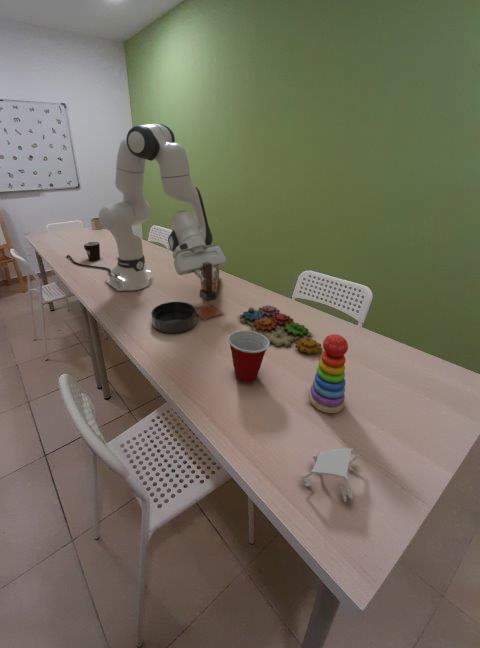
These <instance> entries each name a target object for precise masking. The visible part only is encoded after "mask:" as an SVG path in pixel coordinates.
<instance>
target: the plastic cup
mask: <svg viewBox="0 0 480 648" xmlns="http://www.w3.org/2000/svg"><path fill="white" fill-rule="evenodd" d="M227 342H228V344H229V347H230V351H231V358H232V366H233V369H234V375H235V378H236V380H237V381H239V382H242V383H244V384H249V383H253V382H256V380H257V378H258V375H259V371H260V369H261V366H262V363H263V359H264V356H265V355H266V352H267V350H268V349H269V347H270V344H271V343H270V342H269V340H268V339H267V337H265V336H264V335H262V334H260V333H259V332H254V331H252V330H248V329H244V330H236V331H233V332H231V333H230V334H228V336H227Z"/></svg>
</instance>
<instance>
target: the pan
mask: <svg viewBox="0 0 480 648" xmlns="http://www.w3.org/2000/svg"><path fill="white" fill-rule="evenodd" d="M196 309H197V308H196V306H194V305H192V304H191V303H188V302H184V301H167V302H163V303H161V304H159V305H157V306H155V307H154V308H153V309H152V310H151V313H150V314H151V323H152V327H154V328H155V330H158V331H160V332H163V333H167V334H179V333H184V332H186V331H188V330H190V329H191V328H193V327H195V325H196V324H197V319H198V318H197V316H198V315H197V313H196Z"/></svg>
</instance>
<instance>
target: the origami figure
mask: <svg viewBox="0 0 480 648" xmlns="http://www.w3.org/2000/svg"><path fill="white" fill-rule="evenodd" d="M351 455H353V458H351ZM350 458H351V459H350ZM359 458H360V454H358V452H356V451H355V450H354V448H349V447H346V448H341V447H340V448H332V449H328V450H325V451H319V453H317V454H316V453H315V454H314V453H313V455H312V459H313V461H314V466H313V468H312V469H311V470H310V471H309V472H308V473H307V474H304V475H301V476H300V477H299V478H300V479H301V480H302V481H303V482H306V483H305V485H304V486H305V487H307V488H308V487H309V486H312V485H313V482H312V481H310V480H308V479H307V478H309V477H310V476H312V475H325V476H334V477H339V478H340V477H341V478H343V479H344V483H345V487H346V488H345V487H344V486H340V491H341V492H340V493H341V495H342V499H343V502H345V503H347V500H348V498H347V496H348V497H349V498H350V499H351V500H353V499H354V498H353V497H354V493H353V490H352V487H351V485H350V482H349V479H348V471H351V472H354V468H353V467H352V466H351V464H352V463H353V462H356V461H357V460H358V459H359Z"/></svg>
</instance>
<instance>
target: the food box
mask: <svg viewBox="0 0 480 648" xmlns="http://www.w3.org/2000/svg"><path fill="white" fill-rule="evenodd" d="M200 273H201V274H202V275H203V270H202V271H200ZM214 276H215V278H214V279H212V290H213V291H215V292H216V293H217V292H218V286H219V282H220V267H216V268H214ZM202 289H203V282H201V281H200V290H202Z"/></svg>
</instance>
